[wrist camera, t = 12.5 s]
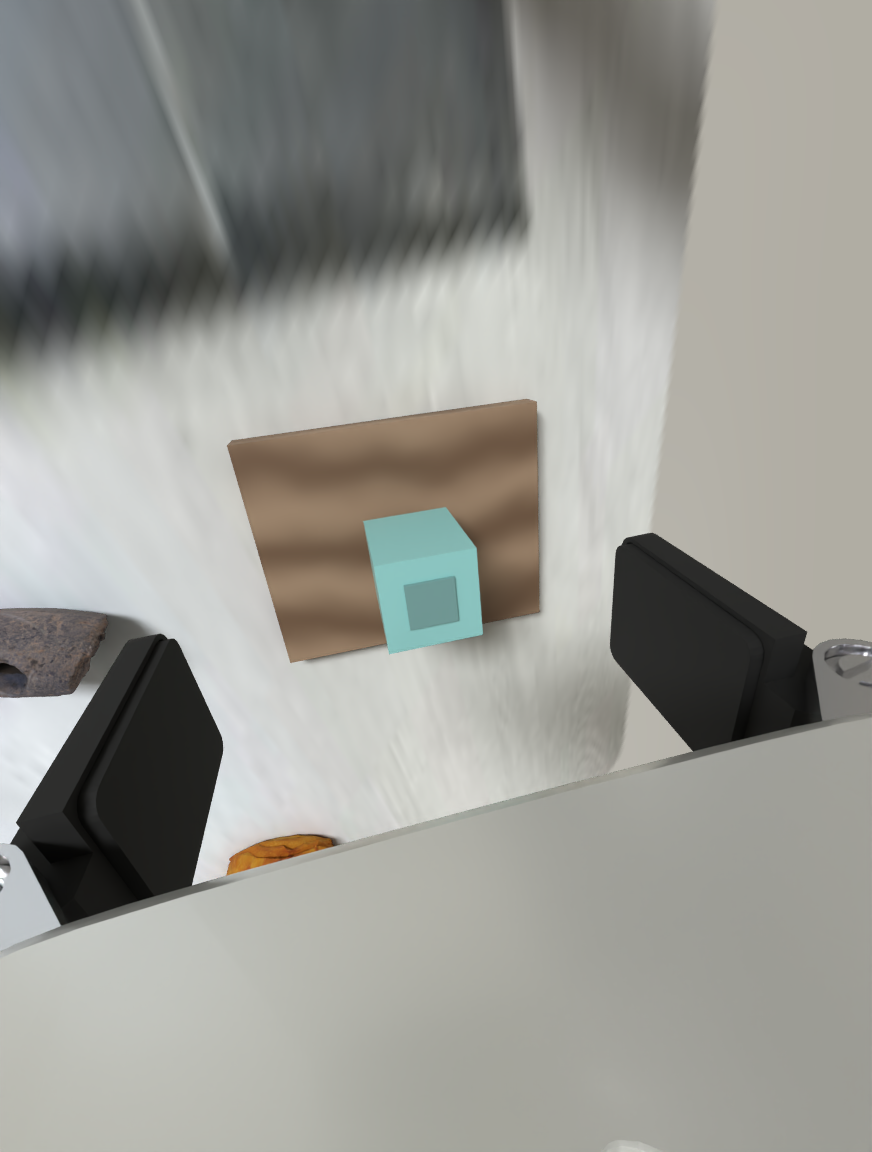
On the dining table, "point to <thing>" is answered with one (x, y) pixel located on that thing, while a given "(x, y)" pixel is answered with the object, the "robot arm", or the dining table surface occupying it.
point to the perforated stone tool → (46, 650)
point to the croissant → (276, 851)
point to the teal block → (424, 579)
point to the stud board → (388, 513)
